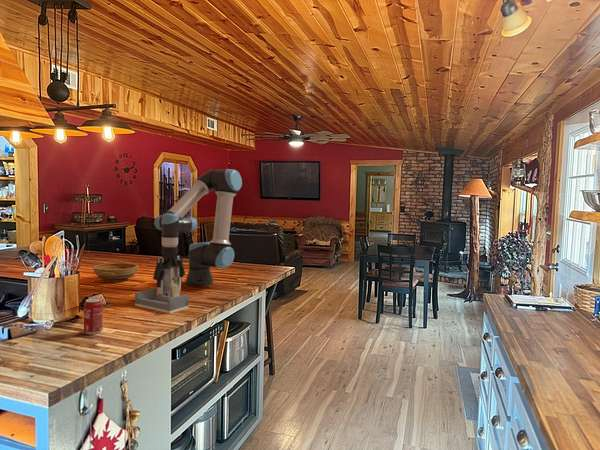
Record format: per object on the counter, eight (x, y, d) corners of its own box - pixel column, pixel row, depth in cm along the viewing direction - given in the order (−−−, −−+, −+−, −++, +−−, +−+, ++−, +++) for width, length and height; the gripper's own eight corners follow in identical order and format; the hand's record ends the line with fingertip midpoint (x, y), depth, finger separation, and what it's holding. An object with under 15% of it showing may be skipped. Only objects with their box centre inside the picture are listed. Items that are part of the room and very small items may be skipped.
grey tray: (154, 300, 208) (154, 288, 207) (188, 307, 197) (188, 294, 196) (135, 305, 198) (135, 292, 198) (169, 313, 187) (169, 299, 187)
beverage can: (88, 329, 164) (87, 297, 163) (105, 329, 164) (105, 297, 163) (81, 335, 158) (80, 302, 157) (99, 335, 158) (98, 302, 157)
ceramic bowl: (106, 274, 267) (106, 261, 266) (146, 275, 267) (146, 262, 267) (82, 284, 237) (82, 270, 237) (127, 285, 238) (127, 271, 237)
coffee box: (168, 296, 216) (168, 264, 215) (180, 297, 215) (180, 265, 213) (158, 301, 207) (158, 267, 206) (170, 302, 206) (170, 268, 204)
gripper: (182, 243, 221) (181, 287, 222) (144, 247, 201) (144, 295, 202) (193, 244, 217) (192, 289, 218) (156, 248, 197) (155, 297, 199)
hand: (169, 292), depth 210 cm, fingers closed on coffee box, 10 cm apart
